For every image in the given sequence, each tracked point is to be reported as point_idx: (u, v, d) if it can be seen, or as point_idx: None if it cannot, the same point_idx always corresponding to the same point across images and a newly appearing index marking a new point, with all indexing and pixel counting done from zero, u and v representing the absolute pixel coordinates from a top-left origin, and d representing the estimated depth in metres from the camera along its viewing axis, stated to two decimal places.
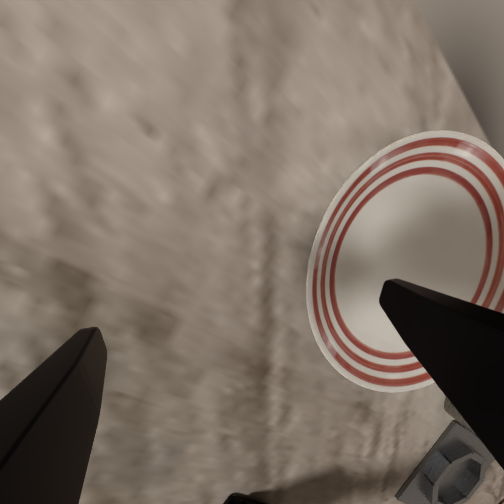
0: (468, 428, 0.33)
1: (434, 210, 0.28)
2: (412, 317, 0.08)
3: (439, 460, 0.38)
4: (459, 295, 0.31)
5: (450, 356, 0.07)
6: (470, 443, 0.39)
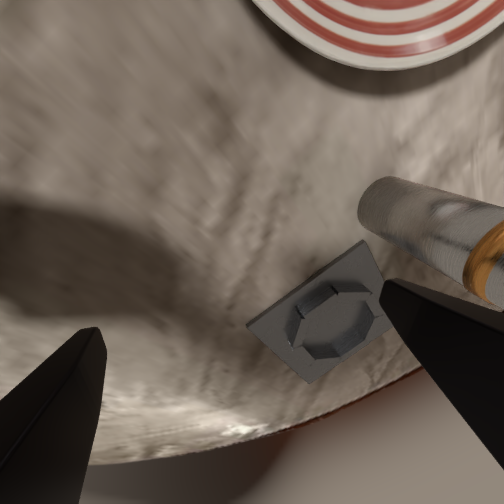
0: (382, 223, 0.20)
1: None
2: (412, 317, 0.08)
3: (323, 292, 0.26)
4: None
5: (450, 355, 0.07)
6: (372, 289, 0.28)
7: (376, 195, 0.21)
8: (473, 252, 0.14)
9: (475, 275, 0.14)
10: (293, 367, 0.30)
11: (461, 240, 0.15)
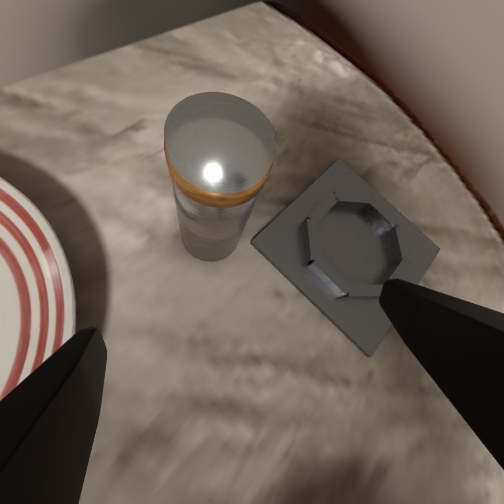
0: (223, 247, 0.19)
1: None
2: (412, 317, 0.08)
3: (314, 272, 0.23)
4: None
5: (450, 355, 0.07)
6: (305, 211, 0.25)
7: (198, 253, 0.21)
8: (216, 205, 0.13)
9: (239, 199, 0.12)
10: (418, 278, 0.25)
11: (209, 212, 0.13)
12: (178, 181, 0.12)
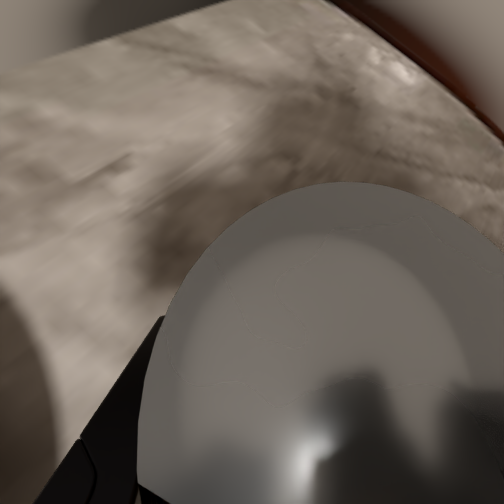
0: None
1: None
2: None
3: None
4: None
5: None
6: None
7: None
8: None
9: None
10: None
11: None
12: None
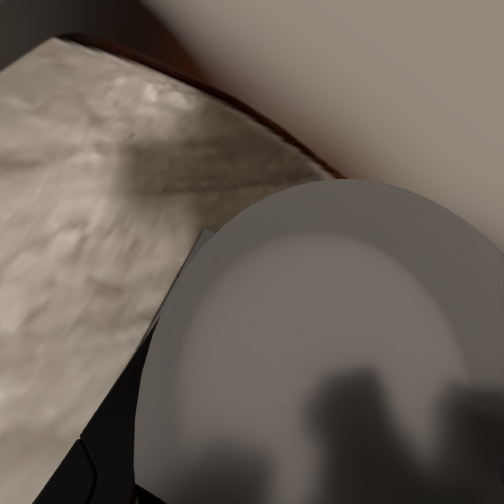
0: None
1: None
2: None
3: None
4: None
5: None
6: None
7: None
8: None
9: None
10: None
11: None
12: None
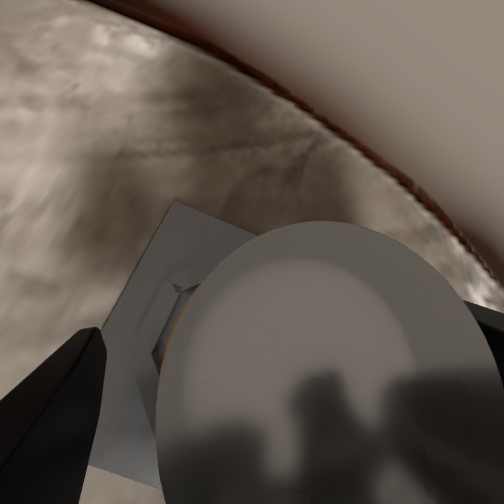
0: None
1: None
2: None
3: None
4: None
5: None
6: (135, 327, 0.14)
7: None
8: None
9: None
10: None
11: None
12: None
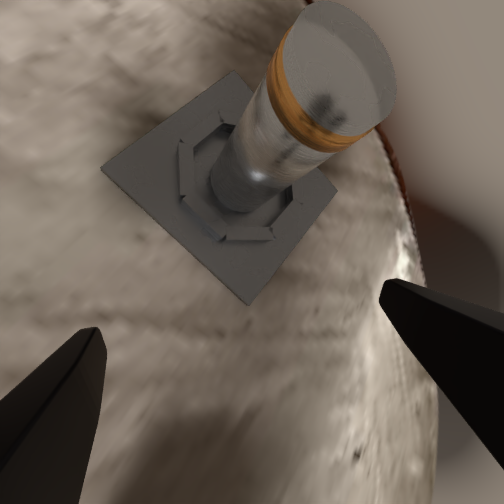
0: (257, 198, 0.18)
1: None
2: (412, 317, 0.08)
3: (188, 211, 0.19)
4: None
5: (450, 356, 0.07)
6: (182, 134, 0.19)
7: (226, 195, 0.19)
8: (301, 140, 0.11)
9: (332, 144, 0.11)
10: (310, 221, 0.23)
11: (286, 146, 0.12)
12: (280, 92, 0.10)
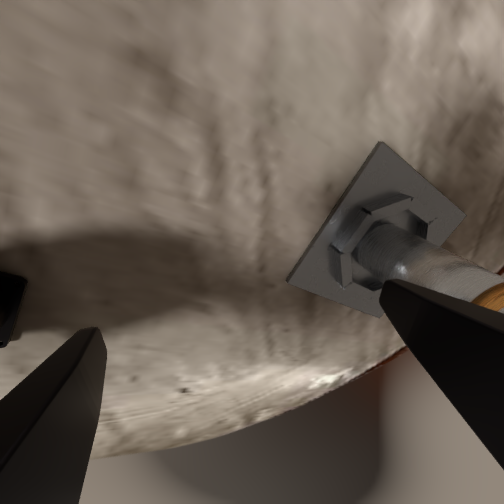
0: (380, 272, 0.22)
1: None
2: (412, 317, 0.08)
3: (354, 218, 0.23)
4: None
5: (450, 355, 0.07)
6: (413, 193, 0.23)
7: (374, 244, 0.23)
8: None
9: None
10: (354, 306, 0.28)
11: None
12: (498, 300, 0.15)
